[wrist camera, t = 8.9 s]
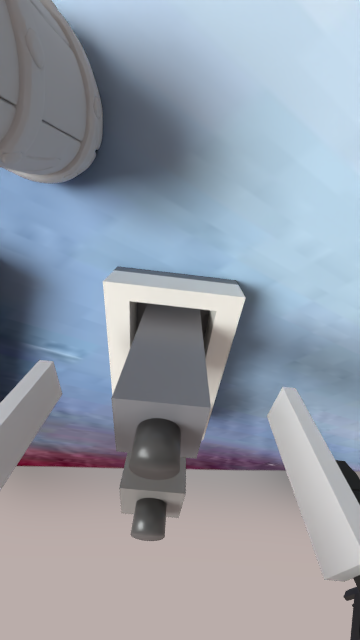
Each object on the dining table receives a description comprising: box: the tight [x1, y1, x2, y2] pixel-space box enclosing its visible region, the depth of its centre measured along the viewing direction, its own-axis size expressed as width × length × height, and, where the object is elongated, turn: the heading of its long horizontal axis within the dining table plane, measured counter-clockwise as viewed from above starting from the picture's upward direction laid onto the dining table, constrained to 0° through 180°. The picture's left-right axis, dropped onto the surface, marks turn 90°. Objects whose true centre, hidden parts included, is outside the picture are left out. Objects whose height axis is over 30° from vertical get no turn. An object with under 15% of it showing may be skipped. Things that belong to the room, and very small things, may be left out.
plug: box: [112, 303, 211, 480], centre depth 14 cm, size 4×4×12 cm
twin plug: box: [119, 452, 186, 541], centre depth 18 cm, size 4×4×12 cm
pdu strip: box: [103, 267, 246, 440], centre depth 20 cm, size 10×18×4 cm, turn 174°
